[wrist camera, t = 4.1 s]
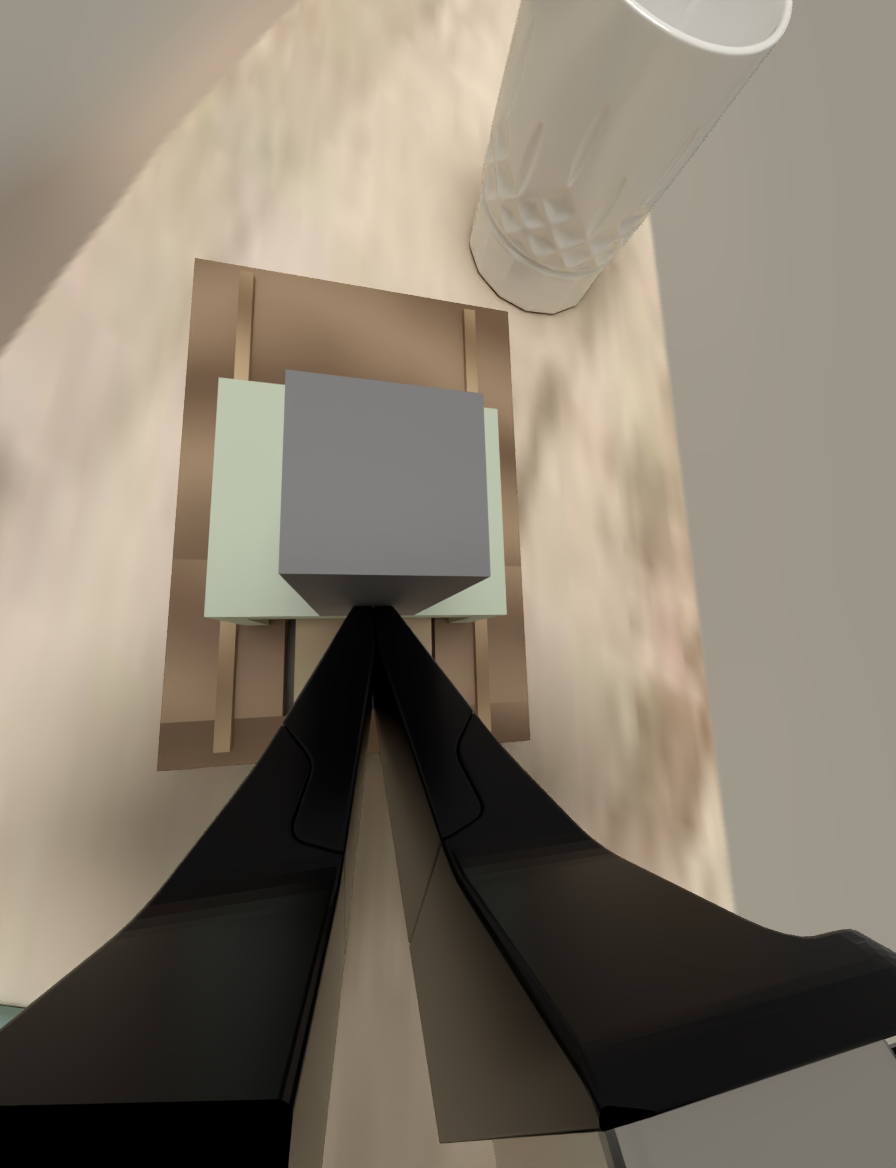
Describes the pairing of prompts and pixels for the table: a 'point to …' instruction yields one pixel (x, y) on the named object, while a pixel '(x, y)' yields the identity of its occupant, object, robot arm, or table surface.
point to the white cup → (602, 129)
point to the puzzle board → (216, 350)
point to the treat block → (318, 636)
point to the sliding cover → (353, 501)
